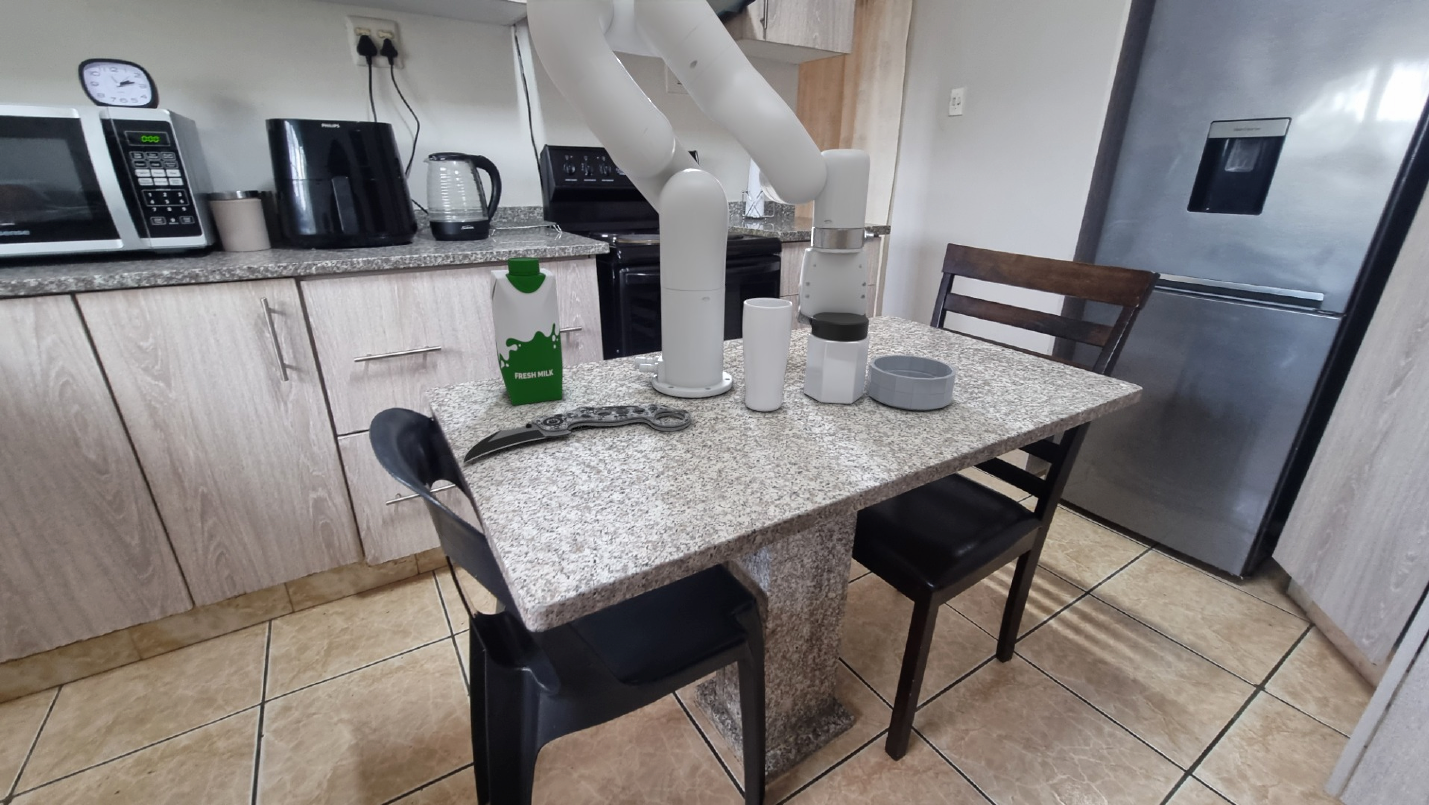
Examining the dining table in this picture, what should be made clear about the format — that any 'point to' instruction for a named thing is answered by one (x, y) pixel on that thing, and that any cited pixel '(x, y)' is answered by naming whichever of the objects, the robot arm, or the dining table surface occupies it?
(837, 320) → the jar
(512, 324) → the milk carton
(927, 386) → the bowl
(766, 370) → the drinking glass
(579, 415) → the knife
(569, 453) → the dining table surface
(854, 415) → the dining table surface
